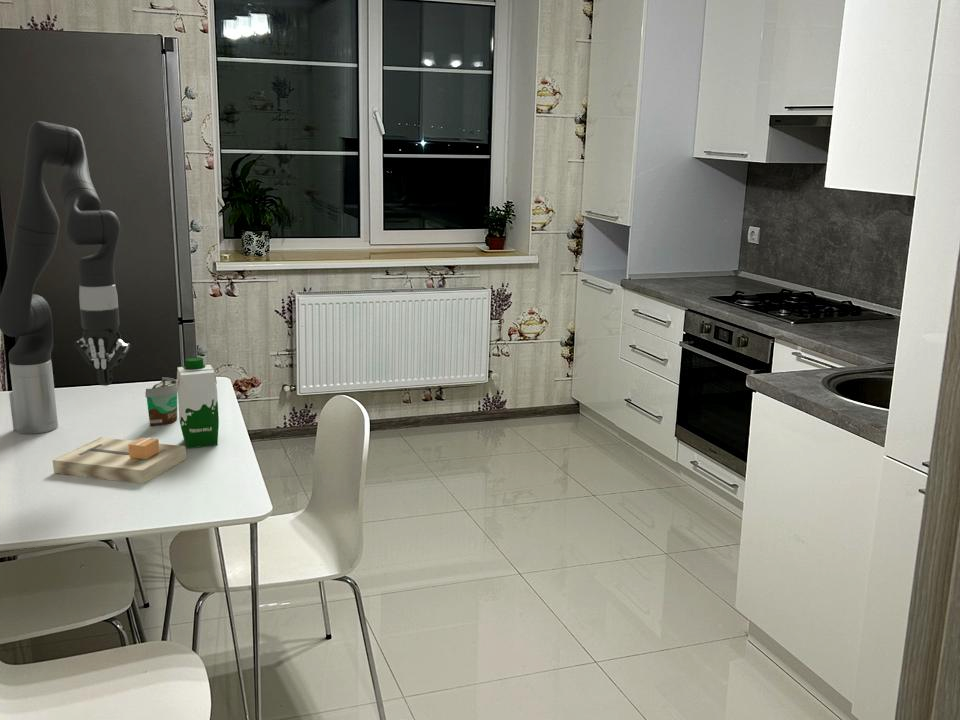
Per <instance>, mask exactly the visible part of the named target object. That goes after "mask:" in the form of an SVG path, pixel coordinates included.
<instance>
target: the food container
mask: <svg viewBox="0 0 960 720" xmlns="http://www.w3.org/2000/svg"><path fill="white" fill-rule="evenodd" d="M144 394H145V398H146V405H147V412H148V419H149V426H150V427H159V426H166V425H169V424H173V423H175V422H177V420H178V386H177V378H176V379H175V378H172V377H163V376H162V377H161V381H160V382H159V383H155V384H154V385H153V386H152V387H151V388H145V393H144Z"/></svg>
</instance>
